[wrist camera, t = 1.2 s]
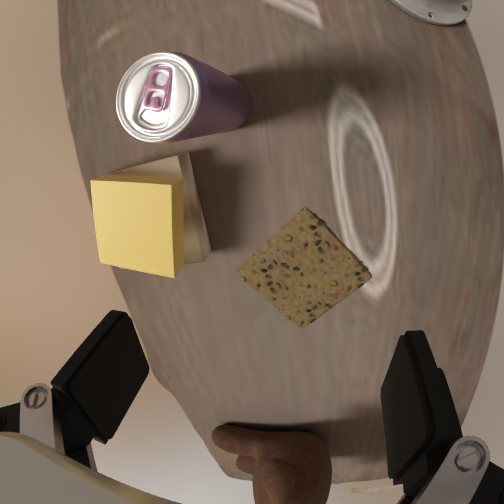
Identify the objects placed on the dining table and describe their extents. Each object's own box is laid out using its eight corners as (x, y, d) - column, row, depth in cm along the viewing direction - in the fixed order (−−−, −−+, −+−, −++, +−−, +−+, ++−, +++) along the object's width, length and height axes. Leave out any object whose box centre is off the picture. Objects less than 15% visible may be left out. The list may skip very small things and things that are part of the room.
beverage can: (259, 84, 26) (215, 53, 13) (244, 138, 29) (189, 155, 15) (204, 73, 26) (124, 47, 13) (191, 125, 29) (106, 137, 16)
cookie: (305, 202, 31) (305, 204, 30) (373, 274, 33) (374, 278, 32) (233, 269, 36) (232, 272, 35) (301, 327, 38) (301, 332, 37)
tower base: (106, 174, 33) (92, 179, 31) (188, 151, 30) (177, 155, 28) (131, 258, 38) (120, 269, 35) (211, 250, 35) (203, 262, 32)
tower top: (106, 174, 30) (90, 180, 27) (183, 178, 29) (171, 185, 26) (113, 251, 34) (100, 262, 32) (184, 265, 33) (174, 278, 30)
